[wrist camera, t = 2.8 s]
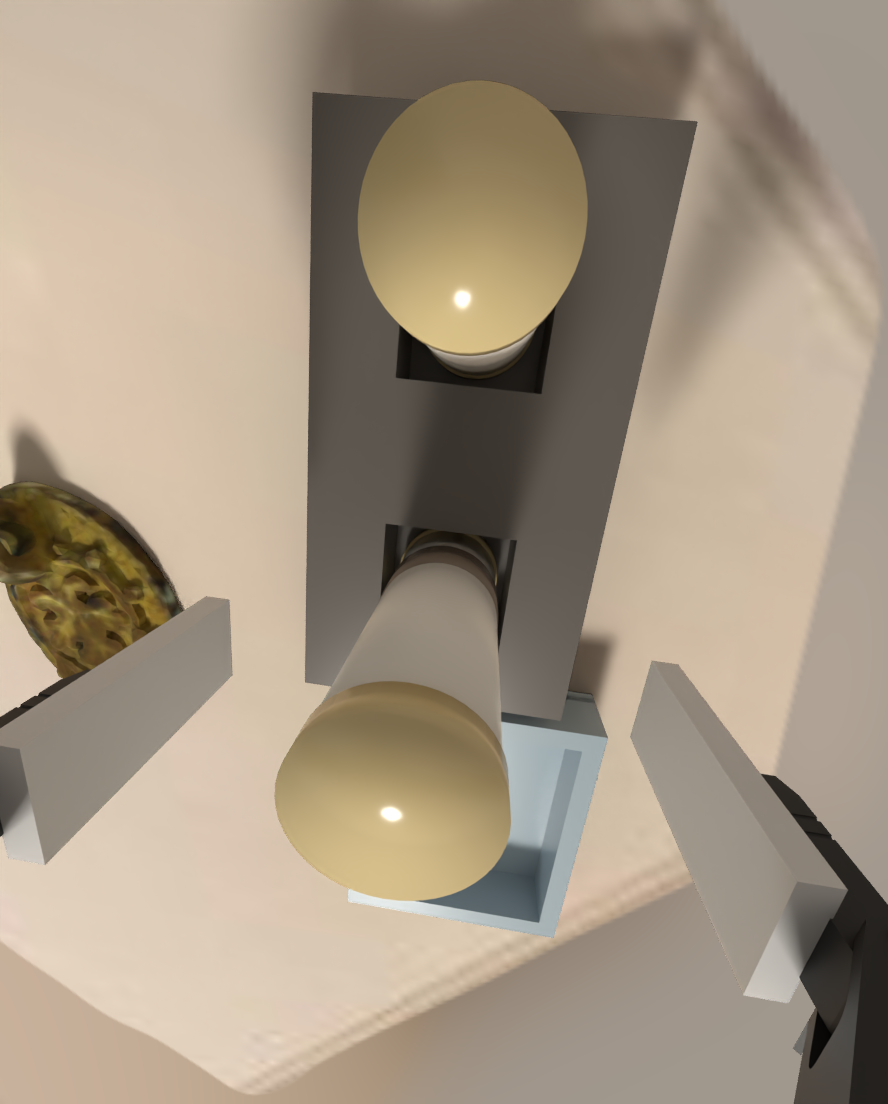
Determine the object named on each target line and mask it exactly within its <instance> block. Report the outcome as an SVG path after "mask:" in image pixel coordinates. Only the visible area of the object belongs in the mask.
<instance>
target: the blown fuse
mask: <svg viewBox="0 0 888 1104" xmlns="http://www.w3.org/2000/svg"><path fill="white" fill-rule="evenodd" d="M496 583H497V565H496V559H495V556H494V553H493V550H492V548H491V547H490V545H489V544H488V542H487V541H486V540H485V539H484V538H483V537H482V536H479V535H471V534H463V533H456V532H448V531H440V530H433V529H424V530H423V531H421V532H420V533H419V534H418V535H416V536H415V537H414V539H413V540H412V541H411V542H410V544H409V545H408V547H407V549H406V551H405V552H404V554H403V557H402V559H401V563H400V565H399V566H398V567H397V569H396V570H395V572H394V574H393V575H392V577H391V579H390V581H389V582H388V584H387V586H386V588H385V589H384V591H383V594H382V596H381V599H380V601H379V603H378V604H377V606H376V608H375V610H374V612H373V613H372V615H371V617H370V619H369V620H368V622H367V624H366V626H365V628H364V629H363V631H362V633H361V635H360V636H359V638H358V640H357V642H356V643H355V645H354V647H353V649H352V651H351V652H350V654H349V656H348V658H347V659H346V661H345V663H344V665H343V666H342V668H341V670H340V672H339V674H338V675H337V677H336V679H335V681H334V682H333V684H332V686H331V688H330V690H329V691H328V693H327V695H326V697H325V698H324V700H323V702H322V704H321V705H320V706H319V707H318V708H317V709H316V710H315V711H314V712H313V713H312V714H311V715H310V717H309V718H308V720H307V721H306V723H305V724H304V726H303V728H302V729H301V731H300V733H299V734H298V736H297V738H296V740H295V741H294V743H293V745H292V746H291V748H290V750H289V752H288V753H287V755H286V757H285V758H284V760H283V762H282V765H281V767H280V769H279V771H278V775H277V779H276V783H275V805H276V810H277V814H278V818H279V821H280V824H281V826H282V828H283V831H284V832H285V834H286V836H287V838H288V839H289V841H290V843H291V844H292V845H293V847H294V848H295V849H296V851H297V852H298V853H299V854H300V855H301V856H302V857H303V858H304V859H305V860H306V861H307V862H308V863H309V864H310V865H311V866H313V867H314V868H315V869H316V870H317V871H319V872H320V873H322V874H323V875H325V876H326V877H328V878H329V879H331V880H333V881H334V882H336V883H338V884H340V885H342V886H344V887H346V888H349V889H351V890H353V891H356V892H359V893H362V894H365V895H368V896H373V897H377V898H382V899H389V900H397V901H419V900H429V899H435V898H440V897H444V896H447V895H451V894H454V893H456V892H458V891H461V890H463V889H465V888H467V887H469V886H471V885H472V884H474V883H476V882H477V881H478V880H480V879H481V878H482V877H484V876H485V875H486V874H487V873H488V872H489V871H490V870H491V869H492V868H493V867H494V866H495V864H496V863H497V862H498V860H499V859H500V857H501V856H502V854H503V852H504V850H505V848H506V845H507V842H508V838H509V835H510V828H511V811H510V794H509V776H508V766H507V762H506V757H505V754H504V752H503V748H502V726H501V703H500V680H499V657H498V634H497V628H498V605H497V590H496Z"/></svg>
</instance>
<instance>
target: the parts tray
mask: <svg viewBox="0 0 888 1104" xmlns="http://www.w3.org/2000/svg"><path fill="white" fill-rule="evenodd" d="M501 726H502V748H503V752H504V754H505V757H506V762H507V766H508V776H509V794H510V811H511V828H510V835H509V838H508V842H507V845H506V848H505V850H504V852H503V854H502V856H501V857H500V859H499V860H498V862H497V863H496V864H495V866H494V867H493V868H492V869H491V870H490V871H489V872H488V873H487V874H486V875H485V876H484V877H482V878H481V879H480V880H478V881H477V882H476V883H474V884H472V885H471V886H469V887H467V888H465V889H463V890H461V891H458V892H456V893H454V894H451V895H447V896H444V897H440V898H435V899H429V900H419V901H397V900H389V899H382V898H377V897H373V896H368V895H365V894H362V893H359V892H356V891H353V890H351V889H349V890H348V902H353V903H359V904H365V905H370V906H376V907H382V908H387V909H393V910H399V911H404V912H410V913H415V914H421V915H427V916H432V917H438V918H444V919H449V920H455V921H461V922H466V923H472V924H477V925H483V926H489V927H494V928H500V929H506V930H511V931H517V932H523V933H528V934H534V935H539V936H545V937H551V938H554V935H555V931H556V927H557V924H558V920H559V916H560V913H561V909H562V905H563V902H564V898H565V894H566V891H567V887H568V883H569V880H570V876H571V872H572V869H573V865H574V861H575V857H576V854H577V850H578V846H579V843H580V839H581V835H582V832H583V828H584V824H585V821H586V817H587V813H588V810H589V806H590V802H591V799H592V795H593V791H594V788H595V784H596V780H597V777H598V773H599V769H600V765H601V762H602V758H603V754H604V751H605V747H606V743H607V740H608V737H607V734H606V731H605V728H604V726H603V723H602V720H601V718H600V715H599V712H598V709H597V707H596V704H595V701H594V698H593V696H592V694H585V693H578V692H571V691H568V692H567V696H566V701H565V705H564V709H563V714H562V718H561V721H558V720H552V719H545V718H539V717H532V716H525V715H519V714H512V713H505V712H501Z"/></svg>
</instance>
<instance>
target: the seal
mask: <svg viewBox="0 0 888 1104" xmlns="http://www.w3.org/2000/svg"><path fill="white" fill-rule="evenodd" d="M0 582H2V583H5V585H6V588H7V592H8V596H9V598H10V601H11V603H12V605H13V607H14V608H15V610H16V612H17V614H18V615H19V617H20V619H21V621H22V622H23V624H24V625H25V627H26V629H27V630H28V633H29V635H30V636H31V637H32V639H33V640H34V641H35V643H36V644H37V645H38V646H39V647H40V648H41V650H42V651H43V653H44V654H45V656H46V657H47V658H48V659H49V660H50V662H51V663H52V664H53V665H54V666H55V667H56V668H57V673H58V675H59V677H61V678H63V679H64V678H66V677H69V676H72V675H74V674H77V673H79V672H82V671H84V670H87V669H88V670H92V669H94V668H95V667H97V666H98V665H100V664H102V663H103V662H105V661H106V660H108V659H109V658H111V657H113V656H114V655H116V654H117V653H119V652H120V651H122V650H123V649H125V648H127V647H128V646H130V645H131V644H133V643H134V642H136V641H137V640H139V639H141V638H142V637H144V636H145V635H147V634H148V633H150V632H151V631H153V630H155V629H156V628H158V627H159V626H161V625H162V624H164V623H165V622H167V621H169V620H170V619H172V618H173V617H175V616H176V615H178V614H180V613H181V609H180V607H179V605H178V603H177V600H176V598H175V596H174V593H173V591H172V589H171V588H170V586H169V584H168V582H167V580H166V579H165V578H164V576H163V575H162V573H161V571H160V570H159V568H158V567H157V566H156V565H155V564H154V563H153V562H152V560H151V559H150V558H149V557H148V555H147V554H146V553H145V552H144V550H143V549H142V548H141V547H140V545H139V544H138V543H137V541H136V540H135V539H134V538H133V537H132V536H130V535H129V534H128V532H127V531H126V530H125V529H123V528H122V527H121V526H120V524H119V523H118V522H117V521H116V520H114V519H113V518H112V517H110V516H109V515H107V514H106V513H105V512H103V511H101V510H100V509H98V508H97V507H95V506H94V505H92V504H90V503H88V502H86V501H84V500H82V499H81V498H79V497H76V496H74V495H72V494H70V493H68V492H65V491H63V490H60V489H57V488H54V487H51V486H48V485H44V484H40V483H36V482H27V481H26V482H19V483H13V484H9V485H7V486H4V487H3V488H1V489H0Z"/></svg>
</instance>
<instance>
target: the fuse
mask: <svg viewBox="0 0 888 1104" xmlns="http://www.w3.org/2000/svg"><path fill="white" fill-rule="evenodd" d="M587 211H588V200H587V191H586V182H585V178H584V174H583V169H582V165H581V162H580V160H579V157H578V154H577V152H576V149H575V147H574V145H573V143H572V141H571V139H570V137H569V135H568V133H567V132H566V130H565V129H564V128H563V126H562V125H561V123H560V122H559V121H558V119H557V118H556V117H555V116H554V115H553V114H552V113H551V112H550V111H549V110H548V109H547V108H546V107H545V106H544V105H543V104H542V103H540V102H539V101H538V100H536V99H535V98H534V97H532V96H531V95H529V94H527V93H525V92H523V91H521V90H520V89H518V88H515V87H512V86H509V85H506V84H503V83H499V82H492V81H486V80H479V81H464V82H459V83H453V84H450V85H447V86H444V87H442V88H439V89H436V90H434V91H433V92H431V93H429V94H427V95H425V96H423V97H422V98H420V99H419V100H418V101H416V102H415V103H413V104H412V105H411V106H409V107H408V108H407V109H406V110H405V111H404V112H403V113H402V114H401V115H400V116H399V117H398V118H397V119H396V120H395V121H394V122H393V124H392V125H391V126H390V127H389V129H388V130H387V131H386V132H385V134H384V136H383V137H382V139H381V141H380V142H379V144H378V145H377V147H376V149H375V151H374V153H373V156H372V158H371V160H370V162H369V164H368V167H367V170H366V174H365V177H364V180H363V184H362V188H361V193H360V198H359V208H358V237H359V245H360V252H361V256H362V260H363V264H364V268H365V270H366V273H367V276H368V279H369V281H370V283H371V285H372V287H373V289H374V291H375V293H376V295H377V297H378V298H379V300H380V301H381V303H382V304H383V306H384V307H385V309H386V310H387V311H388V312H389V313H390V315H391V316H392V317H393V318H394V319H395V320H396V321H397V322H398V323H399V324H400V325H401V326H402V327H403V328H404V329H405V330H406V331H407V332H408V333H410V334H411V335H412V336H413V337H414V338H416V339H417V340H419V341H420V342H422V343H423V344H425V345H426V346H427V347H428V348H429V350H430V352H431V353H432V355H433V356H434V357H435V358H436V360H437V361H438V362H439V363H440V364H441V365H442V366H443V367H445V368H446V369H447V370H448V371H450V372H451V373H453V374H455V375H457V376H460V377H463V378H466V379H471V380H483V379H489V378H493V377H496V376H498V375H500V374H502V373H504V372H506V371H507V370H509V369H510V368H511V367H513V366H514V365H515V364H516V363H517V362H518V361H519V360H520V358H521V357H522V356H523V354H524V353H525V351H526V350H527V348H528V347H529V345H530V343H531V341H532V339H533V336H534V333H535V330H536V328H537V327H538V326H539V325H540V324H541V323H542V322H543V321H544V320H545V319H546V317H547V316H548V315H549V314H550V312H551V311H552V310H553V308H554V307H555V305H556V304H557V302H558V301H559V299H560V298H561V296H562V294H563V293H564V291H565V290H566V288H567V287H568V285H569V283H570V281H571V278H572V276H573V274H574V272H575V270H576V267H577V265H578V262H579V259H580V256H581V253H582V249H583V244H584V240H585V235H586V227H587Z"/></svg>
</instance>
